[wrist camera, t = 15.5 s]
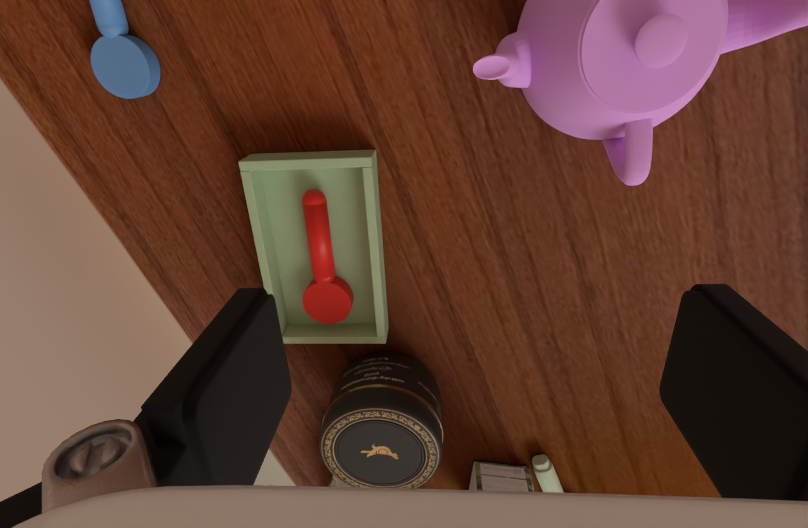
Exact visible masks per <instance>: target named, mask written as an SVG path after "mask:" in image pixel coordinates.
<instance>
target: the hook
mask: <svg viewBox="0 0 808 528" xmlns="http://www.w3.org/2000/svg"><path fill="white" fill-rule="evenodd" d="M532 463H533V470H534V472H535V474H536V477H537V479H538V481H539V484H540V486H541V488H542V490H543V492H555V493H564V492H563V489H562V487H561V484H560V482H559V479H558V477H557V474H556V472H555V469H554V467H553V465H552V463H551V461H550V460H549V459H548V458H547V456H546V455H544V454H542V455H536V456H534V457H533V458H532Z"/></svg>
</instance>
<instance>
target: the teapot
mask: <svg viewBox="0 0 808 528" xmlns="http://www.w3.org/2000/svg"><path fill="white" fill-rule="evenodd" d="M804 26H808V0H527V1H526V3H525V6H524V8H523V11H522V14H521V17H520V20H519V24H518V28H517V32H515V33H513V34H510V35H507V36H506V37H505V38H503V39H502V40H501V42H500V43H499V45H498V47H497V49H496V53H495V54H492V55H489V56H486V57H483V58H481V59H480V60H478V61H477V62H476V63H475V64H474V66H473V72H474V74H475V75H476V76H477V77H479V78H482V79H489V80H492V79H498V80H499V81H500V82H501V83H502V84H503V85H504V86H508V87H518V88H521V89H522V92H523V94H524V96H525V98H526V100H527V101H528V103H529V105H530V106H531V108H532V109H533V110H534V111H535V113H536V114H537V115H538V116H539V117H540V118H541V119H542V120H543V121H545V122H546V123H547V124H549V125H550V126H552V127H553V128H555V129H557V130H559V131H561V132H563V133H565V134H568V135H571V136H574V137H578V138H584V139H595V140H602V141H603V144H604V147H605V149H606V152H607V155H608V157H609V160H610V163H611V165H612V167H613V170H614V172H615V173H616V175H617V176H618V178H619V179H620V180H621V181H622V182H623V183H625V184H626V185H630V186H634V185H639V184H641V183H643V182H644V181H645V179H646V178H647V176H648V174H649V171H650V166H651V158H652V135H653V127H654V126H656V125H658V124H660V123H661V122H663V121H665V120H666V119H668V118H669V117H671V116H672V115H674V114H675V113H676V112H678V111H679V110H680V109H682V108H683V107H684V106H685V105H686V104H687V103H688V102H689V101H690V100H691V99H692V98H693V97H694V96H695V95H696V93H697V92H698V91H699V90H700V89H701V87H702V86H703V85H704V83H705V82H706V80H707V79H708V77H709V76H710V74H711V72H712V71H713V69H714V67H715V65H716V63H717V61H718V58H719V56H720V54H723V53H726V52H729V51H732V50H736V49H739V48H743V47H746V46H749V45H752V44H755V43H758V42H761V41H764V40H766V39H769V38H772V37H774V36H777V35H779V34H782V33H785V32H788V31H791V30H794V29H797V28H800V27H804Z"/></svg>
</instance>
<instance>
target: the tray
mask: <svg viewBox="0 0 808 528" xmlns="http://www.w3.org/2000/svg"><path fill="white" fill-rule="evenodd" d="M238 163H239V168H240V173H241V178H242V183H243V188H244V193H245V197H246V202H247V207H248V212H249V217H250V222H251V227H252V232H253V237H254V241H255V246H256V251H257V256H258V261H259V266H260V271H261V276H262V281H263V285H264V289H265V290H266V291H267V294H272V295H273V296H274V298H275V302H276V307H277V312H278V317H279V322H280V327H281V333H282V338H283V343H284V344H386V340H387V334H388V329H389V323H388V309H387V296H386V282H385V268H384V255H383V241H382V227H381V214H380V200H379V187H378V173H377V159H376V150H347V151H318V152H288V153H259V154H250V155H249V156H247V157H245V158H243V159H242V160H240V161H238ZM310 189H318V190H320V191H322V192H323V193H324V195H325V197H326V200H327V208H328V216H329V224H330V232H331V240H332V248H333V256H334V264H335V276H338V277H340V278H342V279H343V280H345V281H346V282H347V283H348V284H349V285H350V287H351V289H352V291H353V295H354V299H353V304H352V307H351V310H350V312H349V314H348V316H347V317H346V318H345V319H344V320H342V321H340V322H338V323H334V324H324V323H320V322H318V321H316V320H314V319H313V318H311V317H310V316H309V315H308V314H307V312H306V311H305V309H304V306H303V301H302V300H303V294H304V292H305V290H306V288H307V286H308V285H309V283H310V282H311V281H312V280H313V279H314V278H313V273H312V267H311V260H310V253H309V246H308V240H307V233H306V226H305V220H304V213H303V206H302V197H303V195H304V193H305V192H306V191H308V190H310Z"/></svg>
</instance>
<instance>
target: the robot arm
mask: <svg viewBox="0 0 808 528" xmlns="http://www.w3.org/2000/svg"><path fill="white" fill-rule="evenodd" d="M290 396H291V379H290V374H289V368H288V363H287V358H286V353H285V348H284V343H283V338H282V333H281V327H280V322H279V317H278V312H277V307H276V302H275V298H274V296H273V295H272V294H267V291H266V290H265V289H264V288H240V289H238V290H237V291H236V292H235V294H234V295H233V296H232V297H231V298H230V300H229V301H228V302H227V303H226V304H225V306H224V307H223V308H222V309H221V311H220V312H219V313H218V314H217V315H216V317H215V318H214V319H213V320H212V321H211V323H210V324H209V325H208V326H207V327H206V329H205V330H204V331H203V332H202V334H201V335H200V336H199V337H198V338H197V340H196V341H195V342H194V343H193V344H192V346H191V347H190V348H189V349H188V350H187V352H186V353H185V354H184V355H183V357H182V358H181V359H180V360H179V361H178V363H177V364H176V365H175V366H174V367H173V369H172V370H171V371H170V372H169V373H168V375H167V376H166V377H165V378H164V380H163V381H162V382H161V383H160V384H159V386H158V387H157V388H156V389H155V390H154V392H153V393H152V394H151V395H150V397H149V398H148V399H147V400H146V401H145V403H144V404H143V405H142V406H141V408H142V411H141V412H140V414H139V415H138V416H137V417H136V419H135V420H134V421H133V422H132V421H130V420H121V419H116V420H110V421H104V422H101V423H98V424H94V425H91V426H89V427H87V428H85V429H83V430H81V431H79V432H77V433H75V434H74V435H72V436H71V437H70V438H68V439H67V440H65V441H63V442H62V443H61V444H60V445H59V446H58V447H57V448H56V449H55V450H54V451H53V452H52V453H51V454H50V456H49V457H48V459H47V460H46V462H45V464H44V467H43V471H42V482H40V483H38V484H36V485H34V486H32V487H30V488H28V489H26V490H24V491H22V492H20V493H18V494H16V495H14V496H12V497H10V498H7V499H5V500H3V501H1V502H0V528H808V351H807V350H806V349H804V348H803V347H802V346H801V345H799V344H798V343H797V342H796V341H795V340H793V339H792V338H791V337H790V336H789V335H787V334H786V333H785V332H784V331H783V330H781V329H780V328H779V327H778V326H776V325H775V324H774V323H773V322H772V321H770V320H769V319H768V318H767V317H766V316H764V315H763V314H762V313H761V312H760V311H758V310H757V309H756V308H755V307H753V306H752V305H751V304H750V303H749V302H747V301H746V300H745V299H744V298H743V297H741V296H740V295H739V294H738V293H737V292H735V291H734V290H733V289H732V288H730V287H729V286H728V285H726V284H696V285H694V286H693V287H692V288H691V289H690V291H686V292H684V294H683V295H682V298H681V302H680V306H679V310H678V314H677V318H676V323H675V327H674V331H673V335H672V339H671V343H670V347H669V351H668V355H667V359H666V363H665V367H664V371H663V375H662V379H661V383H660V397H661V400H662V402H663V404H664V406H665V407H666V409H667V411H668V412H669V414H670V415H671V417H672V418H673V420H674V422H675V423H676V425H677V426H678V428H679V430H680V431H681V433H682V434H683V436H684V438H685V439H686V441H687V442H688V444H689V446H690V447H691V449H692V450H693V452H694V453H695V455H696V457H697V458H698V460H699V461H700V463H701V465H702V466H703V468H704V469H705V471H706V473H707V474H708V476H709V477H710V479H711V481H712V482H713V484H714V485H715V487H716V488H717V490H718V492H719V493H720V495H721V496H722V498H711V497H681V496H651V495H621V494H590V493H555V492H520V491H484V490H447V489H405V488H360V487H314V486H260V485H253V484H254V482H255V479H256V477H257V474H258V472H259V470H260V468H261V465H262V463H263V460H264V458H265V456H266V453H267V451H268V449H269V446H270V444H271V442H272V439H273V437H274V435H275V432H276V430H277V427H278V425H279V423H280V420H281V418H282V416H283V413H284V411H285V409H286V406H287V404H288V401H289V399H290Z"/></svg>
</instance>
